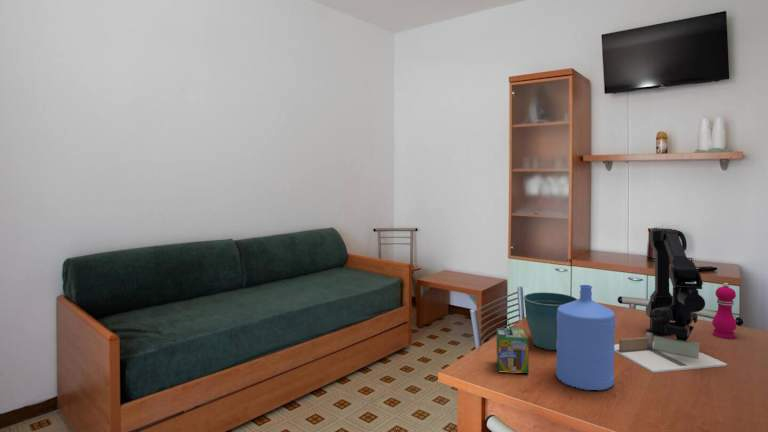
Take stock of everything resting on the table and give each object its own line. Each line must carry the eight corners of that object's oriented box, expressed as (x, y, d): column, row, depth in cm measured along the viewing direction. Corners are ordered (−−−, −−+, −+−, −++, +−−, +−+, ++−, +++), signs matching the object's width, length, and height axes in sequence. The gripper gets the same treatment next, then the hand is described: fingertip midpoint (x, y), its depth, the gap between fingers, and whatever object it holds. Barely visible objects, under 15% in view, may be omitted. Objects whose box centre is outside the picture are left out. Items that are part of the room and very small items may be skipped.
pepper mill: (731, 333, 170) (733, 281, 169) (739, 340, 163) (741, 285, 162) (708, 331, 172) (710, 280, 171) (715, 338, 166) (718, 284, 164)
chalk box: (528, 375, 137) (529, 327, 136) (497, 373, 139) (497, 326, 137) (525, 363, 146) (525, 318, 145) (495, 361, 148) (496, 317, 146)
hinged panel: (653, 349, 153) (654, 336, 153) (654, 348, 155) (654, 335, 154) (698, 358, 146) (699, 344, 145) (698, 356, 147) (699, 343, 147)
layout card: (606, 346, 159) (606, 330, 158) (671, 341, 163) (671, 325, 163) (653, 372, 137) (653, 353, 137) (727, 365, 141) (727, 347, 141)
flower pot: (513, 339, 167) (513, 294, 166) (553, 333, 173) (554, 290, 172) (544, 357, 150) (545, 307, 149) (588, 350, 156) (589, 301, 155)
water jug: (611, 397, 123) (613, 295, 120) (550, 384, 131) (551, 288, 129) (616, 375, 136) (618, 283, 134) (561, 365, 144) (562, 278, 142)
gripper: (661, 291, 162) (659, 333, 164) (647, 304, 148) (646, 350, 150) (698, 297, 154) (696, 341, 156) (688, 311, 141) (686, 359, 143)
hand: (680, 347), depth 151 cm, fingers closed
